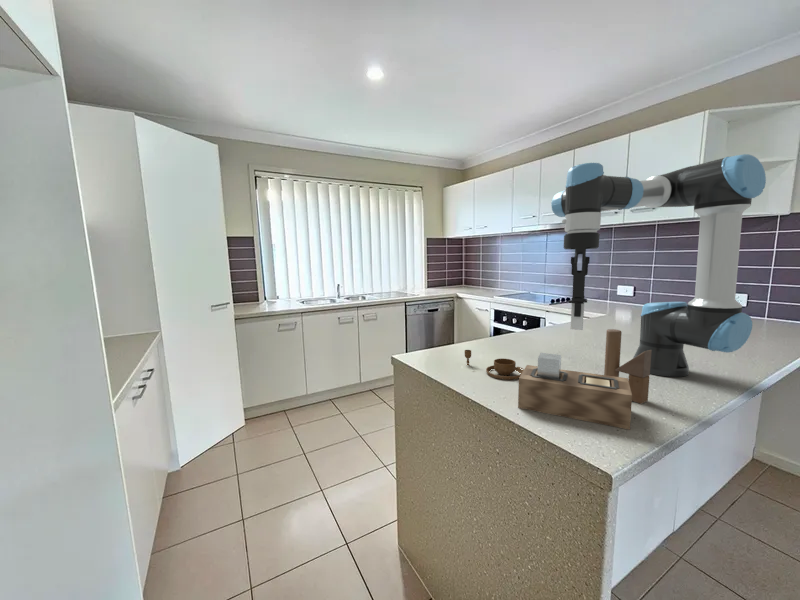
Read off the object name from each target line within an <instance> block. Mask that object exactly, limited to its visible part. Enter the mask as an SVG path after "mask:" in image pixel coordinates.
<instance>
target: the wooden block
mask: <svg viewBox="0 0 800 600" xmlns="http://www.w3.org/2000/svg"><path fill="white" fill-rule="evenodd" d="M622 333H623V331H622V330H620V329H616V328H615V329H614V328H610V329H606V335H605V336H606V337H605V352H604V354H605V355H604V368H603V369H604V370H603V375H607V376H614V377H620V373H623V374H627V375H628V382H629V385H630V389H631V393H632V402H634V403H637V404H641V405H642V404H644V403H647V402H648V401H649V390H650V389H649V388H650V375H651V374H650V365H651V351H652V350H648V351H645V352H643V353H641V354H640V355H638V356H636V357H635V358H633V357H632V358H631V359H630V360H629V361H626V362H625V363H624V364H622V365H621V366H620V364H621V348H622Z"/></svg>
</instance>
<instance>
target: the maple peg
mask: <svg viewBox="0 0 800 600" xmlns="http://www.w3.org/2000/svg"><path fill="white" fill-rule="evenodd" d="M586 383H589V384H595V385H602V386H609V387H610V382H609V380H603V379H595V378H588V377H586Z"/></svg>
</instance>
